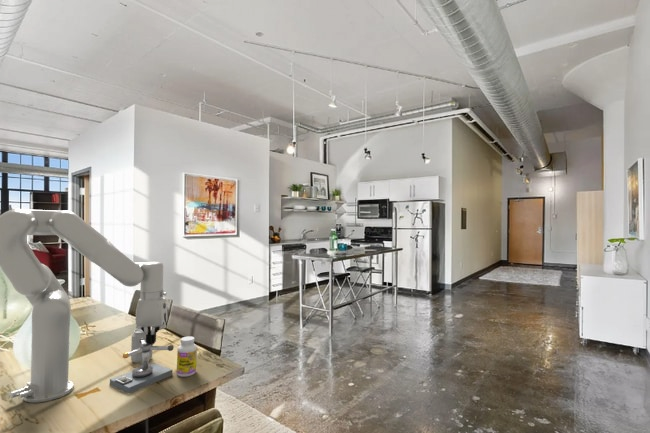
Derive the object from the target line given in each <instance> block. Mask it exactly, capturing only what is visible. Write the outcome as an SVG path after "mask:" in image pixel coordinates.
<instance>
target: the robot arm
mask: <svg viewBox="0 0 650 433" xmlns="http://www.w3.org/2000/svg"><path fill="white" fill-rule="evenodd" d="M28 236H57V237H58V238H59V239H61V240H62V241H63V242H64V243H66V244H68V245H69V246H70V247H71V248H73V249H75V251H76V252H78V253H79V254H81V255H82V256H84V257H85V258H86V259H87V260H89V261H90V262H91V263H93V264H95V265H97V266H98V267H99V268H100V269H102V270H103V271H105V272H106V273H107V274H108V275H110V276H111V277H112V278H114V279H115V280H117V281H118V282H119V283H120V284H122V285H123V286H125V287H128V288H129V287H130V288H132V287H136V286H138V285H139V284H140V295H139V296H140V297H139V299H138V301H137V305H136V311H135V325H136V326H135V329H141V330H142V331H143V332H144V334H145V335H146V343H147V344H151V346H152V345H153V346H154V344H155V343H156V342H157V332H159V331H160V330H161V331H162V330H164V329H166V328H167V325H166V324H167V322H168V306H167V300H166V298H165V297H166V296H167V291H166V292H165V291H164V264H163V263H162V262H161V261H147V262H134V261H133V260H132V259H130V258H129V257H127V256H126V255H125V254H124V253H123V252H122V251H121V250H119V249H118V248H117V247H116V246H115V245H114V244H113V243H112V242H111V241H110V240H108V238H106V236H104V235H103V234H101V232H99V231H98V230H96V229H95V227H93V226H91V225H90V224H89V223H88V222H86V221H85V220H84V219H83V218H81V217H80V216H79V215H78V214H76V213H75V212H73V211H71V210H48V209H47V210H45V209H44V210H43V209H24V208H14V209H13V208H12V209H10V210H7V211H5V212H3V213H2V214H0V269H1V270H2V271H3V273H4V274H5V276H6V277H7V279H8V280H9V281H10V283H11V284H12V286H13V289H14V290H15V291H16V292H17V293H18V294H20V295H23V296H25V298H26V299H27V301H29V303H30V305H31V306H32V311H31V356H30V357H31V358H30V359H31V360H30V381H28V382H26V385H25V386H23V387H21V388H19V389H15V390H12V391H10V393H9V396H10V397H9V398H10V399H15V398H17V397H19V399H22V398H23V400H24V401H25V402H26V403H27V402H28V403H35V404H37V403H44V402H48V401H49V402H50V401H54V400H56V399H57V400H58V399H60V398H62V397H64V396H66V395H68V394H70V392H72V391H73V390H74V386H75V385H74V384H75V383H74V382H73V381H71V380H69V368H70V367H69V363H70V362H69V361H70V331H71V330H70V329H71V315H72V314H71V313H72V310H71V301H70V297H69V295H68V294H67V292H66V290H65V289H64V288H63V286H62V285H61V283H60V282H59V280H58V278H56V275H55V274H54V273H53V271H52V270H51V268H49V266H48V265H45V264H44V263H42V262H40V260H39V259H38V257H37V256H36V255H35V252H34V251H33V249H32V248H31V246H30V245H29V244H28V242H27V237H28Z"/></svg>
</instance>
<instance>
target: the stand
mask: <svg viewBox="0 0 650 433" xmlns="http://www.w3.org/2000/svg"><path fill="white" fill-rule="evenodd" d="M148 366H152V367H153V373H152V374H150V375H148V376H146V377H140V378H137V377H133V376H132V370H131V371H128V372H126V373H121V374H119V375H117V376H115V377H111V378H109V385H110V386H111V387H113V388H115V389H117V390H119V391H121V392H124V393H126V394H129V395H130V394H132V393H134V392H137V391H139V390H141V389H143V388H146V387H149V386H151V385H152V384H155V383H157V382H159V381H162V380H165V379H167V378H169V377H171V376H173V369H172V368H169V367H167V366H164V365H161V364H158V363H156V362H151V363H148Z"/></svg>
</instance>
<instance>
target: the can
mask: <svg viewBox="0 0 650 433" xmlns="http://www.w3.org/2000/svg"><path fill="white" fill-rule="evenodd" d="M141 338H144V339H145V342H146V335H145V334H144V332H143V331H142V330H141V329H137V328H135V329H134V330H133V333H132V334H131V344H130V346H131V348H130V352H131V351H133V350H136V349H139V348H140V346H141V343H139V340H140V339H141ZM146 344H147V343H146ZM152 346H154V344H153V345H152ZM152 358H153V350H151V351H150V352H149V361H150V360H151V359H152ZM130 360H131V361H132V362H133V363H135V364H142V353H141V352H140V353H138V354H135V355H132V356H130Z"/></svg>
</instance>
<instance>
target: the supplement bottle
mask: <svg viewBox="0 0 650 433" xmlns="http://www.w3.org/2000/svg"><path fill="white" fill-rule="evenodd" d="M197 351H198V346H197V344H195V337H194V336H192V335H191V336H184V337H181V338H180V345H179V346H178V347H177V351H176V352H177V353H176V356H177V358H176V359H177V360H176V375H177V376H178V377H181V378H182V377H183V378H185V377H191V376H193V375H195V374H196V371H197V360H198V359H197V355H198V354H197Z"/></svg>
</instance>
